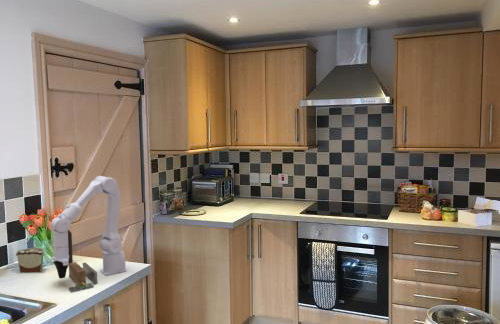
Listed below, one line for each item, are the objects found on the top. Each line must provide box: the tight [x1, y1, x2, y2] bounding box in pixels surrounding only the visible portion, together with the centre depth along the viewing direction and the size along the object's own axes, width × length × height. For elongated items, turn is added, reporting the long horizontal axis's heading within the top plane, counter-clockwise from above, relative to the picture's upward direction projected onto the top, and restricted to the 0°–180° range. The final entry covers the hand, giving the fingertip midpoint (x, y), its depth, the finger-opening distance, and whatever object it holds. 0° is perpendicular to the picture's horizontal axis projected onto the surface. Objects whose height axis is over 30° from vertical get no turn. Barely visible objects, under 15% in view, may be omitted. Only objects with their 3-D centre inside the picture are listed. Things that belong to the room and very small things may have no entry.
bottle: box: [68, 229, 74, 263], centre depth 204 cm, size 7×7×20 cm
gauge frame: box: [68, 262, 98, 294], centre depth 182 cm, size 12×19×5 cm, turn 38°
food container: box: [15, 247, 45, 274], centre depth 196 cm, size 12×6×10 cm, turn 92°
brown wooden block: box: [68, 261, 87, 286], centre depth 181 cm, size 3×18×6 cm, turn 38°
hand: (62, 277), depth 179 cm, fingers closed
